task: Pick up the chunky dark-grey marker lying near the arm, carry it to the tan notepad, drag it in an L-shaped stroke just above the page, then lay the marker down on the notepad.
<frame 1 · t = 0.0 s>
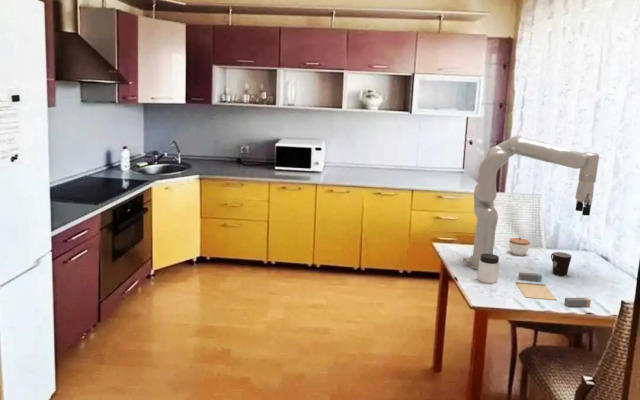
hand: (582, 213, 278), 31 cm above the table, tool pointing down, fingers open, 9 cm apart
jar: (487, 280, 268), on the table
notepad: (535, 291, 257), on the table
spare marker: (576, 305, 242), on the table
lidded jar: (518, 254, 316), on the table
marker: (529, 280, 272), on the table
coffee mug: (558, 273, 285), on the table
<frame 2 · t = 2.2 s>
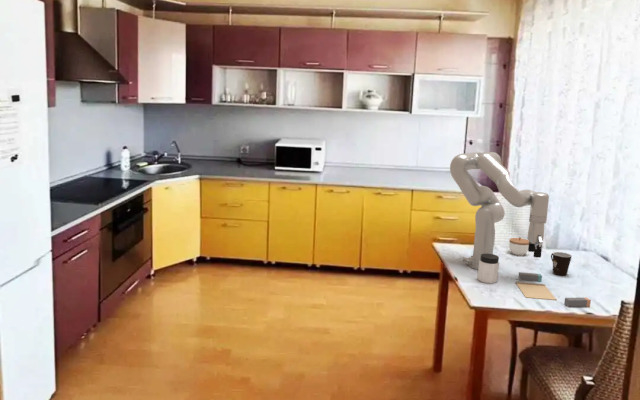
hand: (534, 254, 269), 13 cm above the table, tool pointing down, fingers open, 9 cm apart
nothing on the table moved.
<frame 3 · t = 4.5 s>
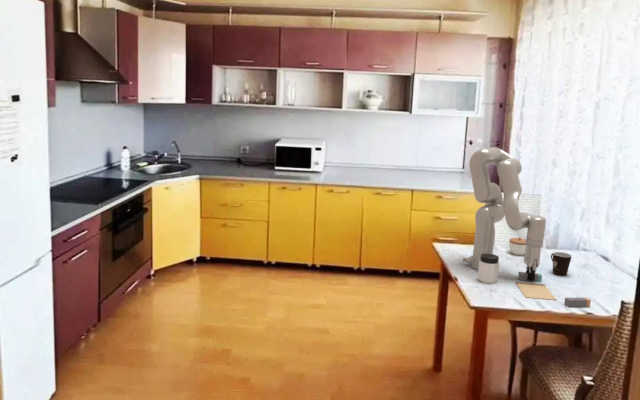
hand: (529, 279, 272), 0 cm above the table, tool pointing down, fingers closed on marker, 2 cm apart
marker: (529, 279, 272), on the table, touching gripper
everything else where it was.
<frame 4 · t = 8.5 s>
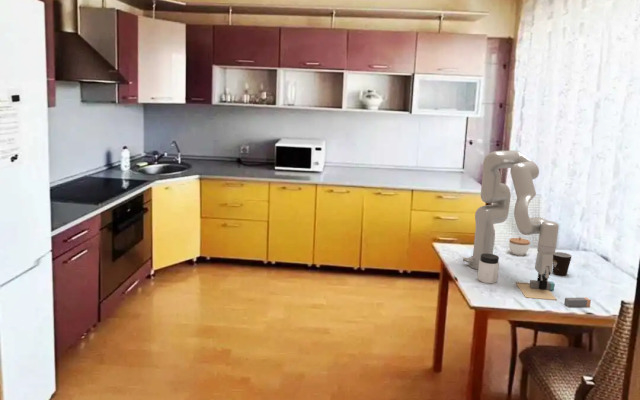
hand: (541, 287, 260), 1 cm above the table, tool pointing down, fingers closed on marker, 2 cm apart
marker: (541, 288, 260), on the table, touching gripper
everything else where it was.
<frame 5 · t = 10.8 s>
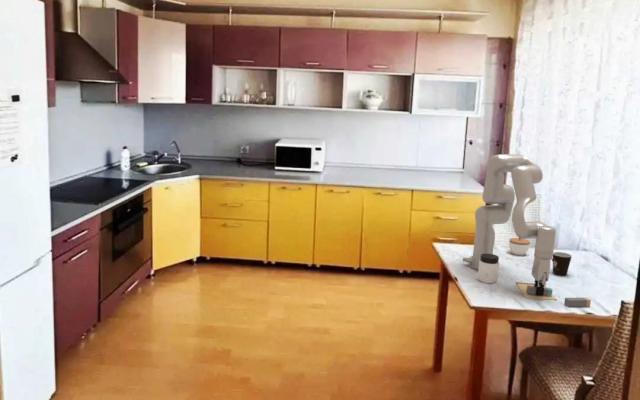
hand: (538, 293, 252), 1 cm above the table, tool pointing down, fingers closed on marker, 2 cm apart
marker: (538, 294, 252), resting on notepad, touching gripper
everything else where it was.
when the fingers open (1 cm above the table, at t = 12.8 s): marker stays where it is, resting on notepad.
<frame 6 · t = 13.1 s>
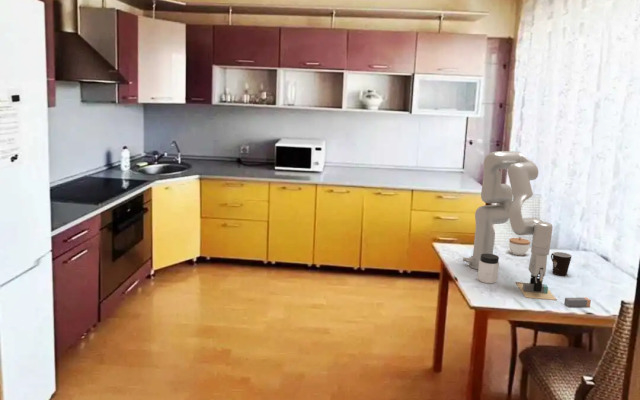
hand: (535, 288, 255), 2 cm above the table, tool pointing down, fingers open, 5 cm apart
marker: (534, 291, 256), resting on notepad
everything else where it was.
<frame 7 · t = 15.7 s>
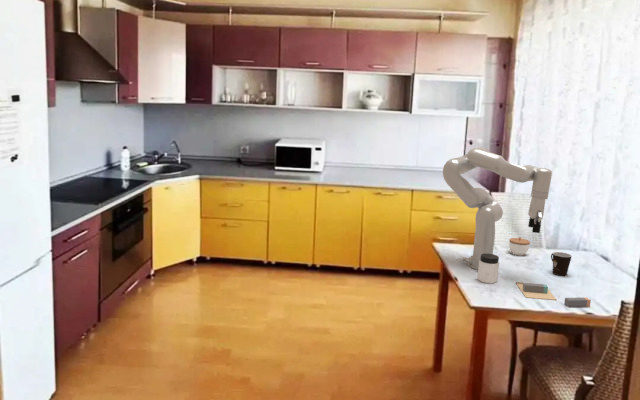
hand: (533, 229, 271), 24 cm above the table, tool pointing down, fingers open, 9 cm apart
nothing on the table moved.
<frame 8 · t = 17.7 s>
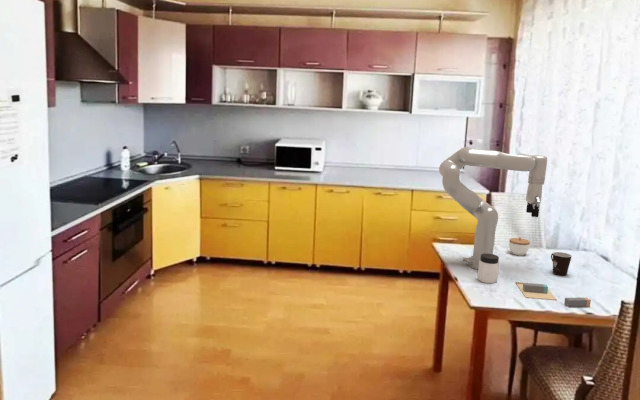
hand: (532, 214, 283), 28 cm above the table, tool pointing down, fingers open, 9 cm apart
nothing on the table moved.
at the end: marker inside the target area on the notepad (1.1 cm from its centre), point 0.3 cm above the notepad's base; the gripper is holding nothing; marker moved 17.1 cm from its start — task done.
